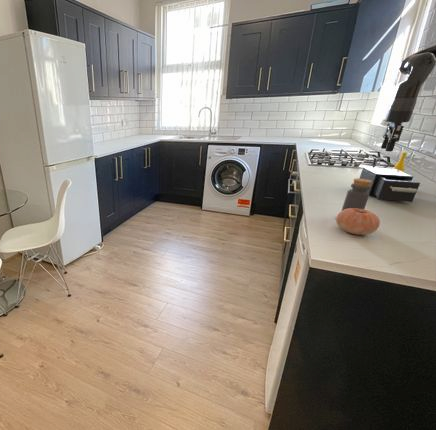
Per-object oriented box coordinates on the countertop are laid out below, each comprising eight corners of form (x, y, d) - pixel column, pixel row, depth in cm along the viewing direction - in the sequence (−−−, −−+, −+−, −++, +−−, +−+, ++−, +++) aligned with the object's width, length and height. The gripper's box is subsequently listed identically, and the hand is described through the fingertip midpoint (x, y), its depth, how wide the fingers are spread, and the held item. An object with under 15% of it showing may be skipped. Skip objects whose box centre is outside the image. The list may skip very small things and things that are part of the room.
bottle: (335, 216, 103) (348, 177, 98) (353, 218, 102) (367, 178, 97) (344, 223, 98) (358, 181, 93) (363, 224, 97) (378, 182, 91)
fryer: (404, 199, 122) (413, 176, 118) (368, 195, 126) (376, 173, 122) (388, 189, 134) (396, 169, 130) (356, 187, 138) (363, 167, 135)
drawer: (417, 205, 112) (426, 185, 108) (382, 202, 116) (389, 182, 112) (396, 192, 127) (403, 175, 124) (365, 190, 131) (371, 172, 128)
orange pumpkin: (383, 240, 86) (393, 216, 83) (344, 238, 88) (352, 214, 85) (361, 226, 96) (369, 204, 93) (326, 224, 97) (333, 202, 94)
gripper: (419, 110, 106) (402, 153, 112) (408, 109, 117) (393, 148, 123) (392, 110, 110) (378, 151, 116) (384, 109, 121) (371, 147, 127)
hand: (386, 149), depth 120 cm, fingers open, 8 cm apart
